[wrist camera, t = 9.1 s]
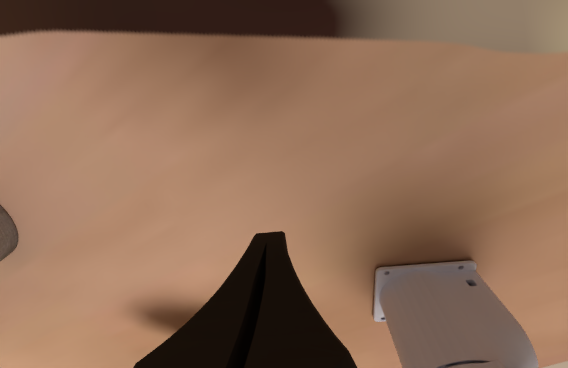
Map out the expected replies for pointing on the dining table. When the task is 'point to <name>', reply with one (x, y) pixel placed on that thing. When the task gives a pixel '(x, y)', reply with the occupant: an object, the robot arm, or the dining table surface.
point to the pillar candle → (7, 234)
